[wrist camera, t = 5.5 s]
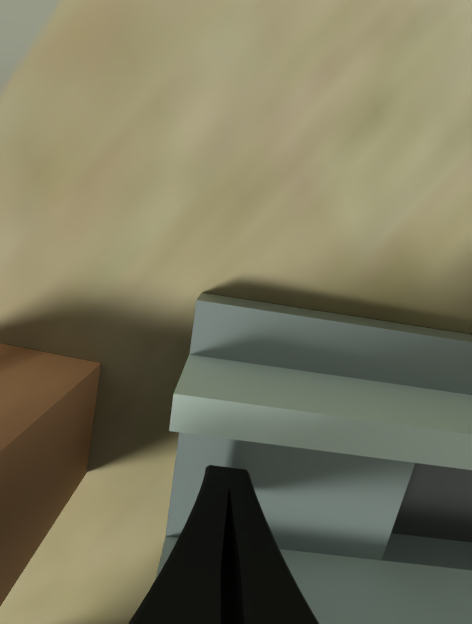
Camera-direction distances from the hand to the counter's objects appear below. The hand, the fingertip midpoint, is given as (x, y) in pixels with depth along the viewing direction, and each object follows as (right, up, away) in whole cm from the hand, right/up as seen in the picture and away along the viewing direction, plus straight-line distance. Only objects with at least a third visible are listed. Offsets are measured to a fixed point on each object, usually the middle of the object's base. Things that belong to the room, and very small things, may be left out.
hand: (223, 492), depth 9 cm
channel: (+6, 0, +3) cm, 7 cm away
